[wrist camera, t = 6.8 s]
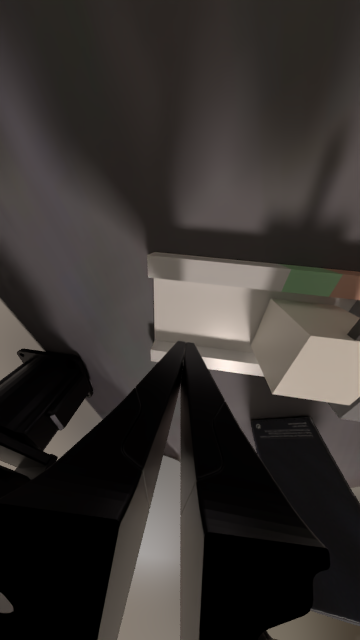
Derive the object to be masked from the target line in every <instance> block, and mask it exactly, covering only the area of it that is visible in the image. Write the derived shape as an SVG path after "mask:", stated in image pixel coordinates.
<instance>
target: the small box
mask: <svg viewBox="0 0 360 640" xmlns="http://www.w3.org/2000/svg"><path fill="white" fill-rule="evenodd" d="M251 425H252V430H253V436H254V441H255V446H256V450H257V454H258V456H259V457H260V459H261V460H262V462H263V464H264V465H265V467H266V468H267V470H268V471H269V473H270V474H271V476H272V477H273V479H274V480H275V482H276V483H277V485H278V486H279V488H280V489H281V491H282V492H283V494H284V495H285V497H286V498H287V500H288V501H289V503H290V504H291V506H292V507H293V508H294V510H295V511H296V512H297V514H298V515H299V516H300V518H301V519H302V520H303V521H304V523H305V524H306V525H307V526H308V528H309V529H310V530H311V531H312V532H313V534H314V535H315V536H316V537H317V538H318V539H319V540H320V542H321V543H322V544H323V545H324V546H325V547H326V548H327V549H328V550H329V555H330V568H329V569H328V570H325V571H320V572H319V573H317V574H316V575H315V577H314V578H313V606H312V608H311V611H314V612H317V613H320V614H323V615H326V616H329V617H332V618H335V619H338V620H341V621H344V622H348V623H351V624H354V625H358V626H360V503H359V501H358V500H357V498H356V496H355V495H354V493H353V492H352V490H351V489H350V487H349V485H348V483H347V481H346V480H345V478H344V476H343V474H342V473H341V471H340V469H339V467H338V466H337V464H336V462H335V460H334V458H333V457H332V455H331V453H330V451H329V450H328V448H327V446H326V444H325V442H324V441H323V439H322V437H321V435H320V433H319V431H318V430H317V428H316V426H315V424H314V422H313V421H312V418H311V417H301V418H283V419H264V420H252V421H251Z"/></svg>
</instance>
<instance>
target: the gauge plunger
mask: <svg viewBox="0 0 360 640" xmlns="http://www.w3.org/2000/svg"><path fill="white" fill-rule="evenodd" d="M251 348H252V350H253V352H254V354H255V357H256V359H257V361H258V363H259V366H260V368H261V370H262V372H263V375H264V377H265V379H266V381H267V384H268V386H269V388H270V390H271V393H272V394H275V395H282V396H289V397H296V398H302V399H309V400H316V401H323V402H330V403H337V404H343V405H351V404H352V403H353V402H354V401H355V400H357V399H358V398H359V397H360V318H359V317H357V316H355V315H353V314H352V313H350V312H348V311H346V310H344V309H342V308H340V307H339V306H337V305H328V304H318V303H309V302H300V301H291V300H282V299H273V298H271V299H270V301H269V304H268V306H267V308H266V311H265V313H264V316H263V318H262V320H261V323H260V325H259V328H258V330H257V332H256V335H255V337H254V339H253V342H252V344H251Z"/></svg>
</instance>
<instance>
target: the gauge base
mask: <svg viewBox="0 0 360 640" xmlns="http://www.w3.org/2000/svg"><path fill="white" fill-rule="evenodd" d="M147 262H148V278H154V327H155V341H154V343H153V346H152V348H151V361H156V362H159V361H160V360H161V359H162V358H163V356H164V355H165V354H166V353H167V352H168V351H169V350H170V349H171V348H172V347H173V345H174V344H175V343H176V342H177V341H184V342H192V343H194V344H195V346H196V347H197V349H198V351H199V353H200V355H201V357H202V359H203V360H204V362H205V364H206V366H207V368H208V369H213V370H220V371H227V372H234V373H241V374H248V375H255V376H263V377H264V375H263V372H262V370H261V368H260V366H259V363H258V361H257V359H256V357H255V354H254V352H253V350H252V348H251V344H252V342H253V339H254V337H255V335H256V332H257V330H258V328H259V325H260V323H261V320H262V318H263V316H264V313H265V311H266V308H267V306H268V304H269V301H270V299H271V298H273V299H282V300H291V301H300V302H309V303H318V304H328V305H337V306H339V307H340V308H342V309H344V310H346V311H348V312H350V313H352V314H353V315H355V316H357V317H359V318H360V272H357V271H347V270H336V269H326V268H316V267H305V266H295V265H284V264H274V263H264V262H253V261H243V260H233V259H222V258H212V257H201V256H191V255H181V254H170V253H160V252H153V253H151V254H149V255H147ZM185 346H186V345H185ZM184 354H185V353H184ZM183 362H184V361H183ZM328 404H329V405H330V406H331V408H332V409H333V410H334V412H335V413H336V414H337V416H338V417H339V418H340V419H345V420H352V421H358V422H360V397H359V398H358V399H357V400H355V401H354V402H353V403H352V404H351V405H343V404H337V403H330V402H328Z"/></svg>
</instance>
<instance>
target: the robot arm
mask: <svg viewBox="0 0 360 640" xmlns="http://www.w3.org/2000/svg"><path fill="white" fill-rule="evenodd" d="M185 345H186V346H185ZM184 353H185V354H184ZM17 354H18V356H19V357H20V359H21V360H22V362H23V364H22V365H21V366H19V367H18V368H17V369H15V370H14V371H13V372H11V373H10V374H9V375H7V376H6V377H5V378H3V379H2V380H1V381H0V460H1V461H3V462H5V463H8V464H10V465H13V466H15V467H17V468H16V470H15V471H13V470H11V469H8V468H6V467H3V466H1V465H0V640H117V638H118V633H119V629H120V625H121V621H122V617H123V613H124V609H125V605H126V601H127V597H128V593H129V589H130V585H131V581H132V577H133V573H134V569H135V565H136V561H137V557H138V553H139V549H140V545H141V541H142V537H143V533H144V529H145V525H146V521H147V517H148V513H149V509H150V505H151V501H152V497H153V493H154V489H155V485H156V481H157V477H158V473H159V469H160V465H161V461H162V457H163V453H164V449H165V445H166V441H167V437H168V433H169V429H170V425H171V421H172V417H173V413H174V409H175V405H176V401H177V397H178V393H179V389H180V385H181V580H180V583H181V584H180V585H181V587H180V589H181V590H180V591H181V592H180V598H181V599H180V606H181V608H180V611H181V612H180V617H181V618H180V622H181V624H180V626H181V627H180V630H181V631H180V640H277V639H273V638H271V637H270V636H269V634H268V633H267V631H266V630H268V629H269V628H272V627H275V626H277V625H280V624H283V623H286V622H288V621H291V620H294V619H296V618H299V617H302V616H304V615H306V614H307V613H308V612H309V611H310V610H311V608H312V606H313V578H314V577H315V575H316V574H317V573H319V572H320V571H325V570H328V569H329V568H330V555H329V550H328V549H327V548H326V547H325V546H324V545H323V544H322V543H321V542H320V540H319V539H318V538H317V537H316V536H315V535H314V534H313V532H312V531H311V530H310V529H309V528H308V526H307V525H306V524H305V523H304V521H303V520H302V519H301V518H300V516H299V515H298V514H297V512H296V511H295V510H294V508H293V507H292V506H291V504H290V503H289V501H288V500H287V498H286V497H285V495H284V494H283V492H282V491H281V489H280V488H279V486H278V485H277V483H276V482H275V480H274V479H273V477H272V476H271V474H270V473H269V471H268V470H267V468H266V467H265V465H264V464H263V462H262V460H261V459H260V457H259V456H258V454H257V453H256V451H255V450H254V448H253V447H252V445H251V444H250V442H249V441H248V439H247V438H246V436H245V434H244V433H243V431H242V430H241V428H240V427H239V425H238V423H237V421H236V420H235V418H234V416H233V414H232V413H231V411H230V409H229V407H228V405H227V403H226V402H224V401H225V400H224V398H223V396H222V394H221V392H220V390H219V388H218V387H217V385H216V383H215V381H214V379H213V377H212V375H211V374H210V372H209V370H208V368H207V366H206V364H205V362H204V360H203V359H202V357H201V355H200V353H199V351H198V349H197V347H196V346H195V344H194V343H192V342H184V341H177V342H176V343H175V344H174V345H173V347H172V348H171V349H170V350H169V351H168V352H167V353H166V354H165V355H164V356H163V358H162V359H161V360H160V361H159V362H158V363H157V364H156V365H155V366H154V367H153V368H152V370H151V371H150V372H149V373H148V374H147V375H146V376H145V377H144V378H143V379H142V380H141V382H140V383H139V384H138V385H137V386H136V388H134V389H133V390H132V391H131V392H130V393H129V395H128V396H127V397H126V398H125V399H124V400H123V401H122V402H121V403H120V404H119V405H118V406H117V407H116V408H115V409H114V410H113V411H112V412H111V413H110V414H108V415H107V416H106V417H105V418H104V419H103V420H102V421H101V422H100V423H99V424H98V425H96V426H95V427H94V428H93V429H92V430H91V431H90V432H89V433H88V434H86V435H85V436H84V437H83V438H82V439H81V440H80V441H79V442H77V444H75V445H74V446H73V447H72V448H71V449H70V450H69V451H67V452H66V453H65V454H64V455H63V456H62V457H61V458H60V459H58V460H57V458H58V457H57V456H55V455H53V454H47V453H45V452H43V450H44V449H45V448H46V446H47V445H48V444H49V442H50V441H51V439H52V437H54V435H55V434H56V432H57V431H58V430H62V429H64V428H65V427H66V425H67V424H68V422H69V421H70V419H71V418H72V416H73V415H74V413H75V412H76V411H77V409H78V408H79V406H80V405H81V403H82V402H83V400H84V399H85V397H87V398H90V397H91V396H92V395H93V391H92V388H91V386H90V383H89V381H88V378H87V375H86V373H85V370H84V367H83V365H82V362H81V360H80V358H79V357H77V356H72V355H65V354H58V353H51V352H44V351H37V350H29V349H21V350H19V351H18V352H17ZM183 361H184V362H183ZM182 369H183V370H182ZM181 377H182V378H181ZM56 460H57V461H56Z"/></svg>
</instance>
